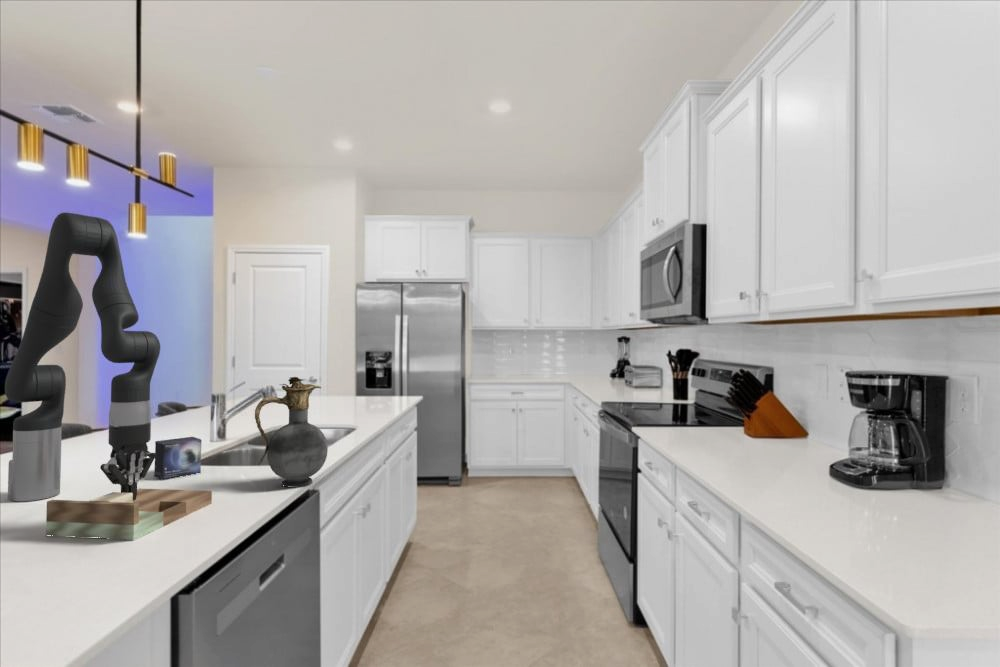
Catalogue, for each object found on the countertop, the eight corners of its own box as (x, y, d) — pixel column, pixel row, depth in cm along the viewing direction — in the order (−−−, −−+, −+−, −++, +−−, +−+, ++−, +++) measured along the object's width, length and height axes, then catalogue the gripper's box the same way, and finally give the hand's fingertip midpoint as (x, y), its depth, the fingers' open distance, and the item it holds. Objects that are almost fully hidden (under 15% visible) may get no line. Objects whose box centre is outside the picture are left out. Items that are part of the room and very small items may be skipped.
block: (88, 520, 106) (88, 500, 106) (112, 510, 112) (113, 492, 112) (108, 521, 105) (109, 501, 105) (132, 511, 111) (132, 492, 111)
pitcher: (331, 484, 145) (333, 376, 145) (257, 495, 134) (259, 378, 134) (320, 475, 154) (321, 374, 154) (249, 485, 143) (251, 376, 143)
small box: (162, 480, 147) (162, 443, 147) (153, 477, 151) (153, 441, 151) (201, 473, 155) (202, 438, 156) (192, 470, 159) (192, 436, 160)
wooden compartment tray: (45, 536, 105) (46, 501, 105) (139, 500, 129) (139, 472, 129) (133, 540, 103) (134, 504, 103) (211, 503, 127) (212, 474, 127)
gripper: (138, 417, 121) (136, 492, 120) (87, 426, 108) (86, 510, 107) (168, 417, 120) (166, 493, 120) (121, 426, 107) (119, 511, 107)
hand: (128, 501), depth 113 cm, fingers closed
